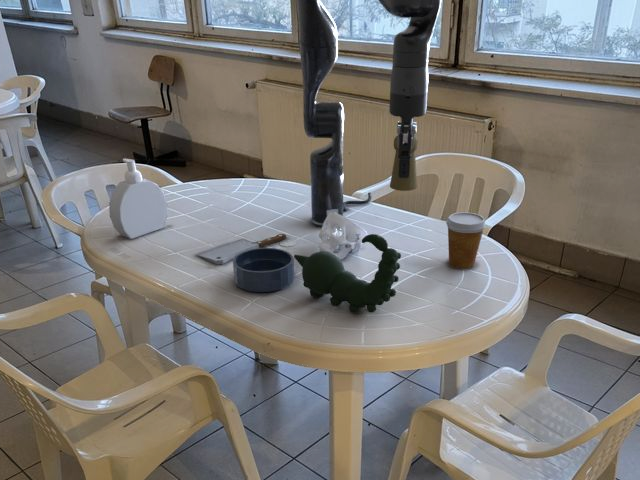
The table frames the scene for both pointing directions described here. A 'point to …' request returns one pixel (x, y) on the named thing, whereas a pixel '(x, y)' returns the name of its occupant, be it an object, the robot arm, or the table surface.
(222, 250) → the kitchen cleaver
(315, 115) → the robot arm
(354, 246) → the skull bowl
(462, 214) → the disposable coffee cup
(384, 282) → the toy figurine
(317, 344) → the table surface
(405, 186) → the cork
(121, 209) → the soap bottle
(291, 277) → the bowl
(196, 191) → the table surface
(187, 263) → the table surface
